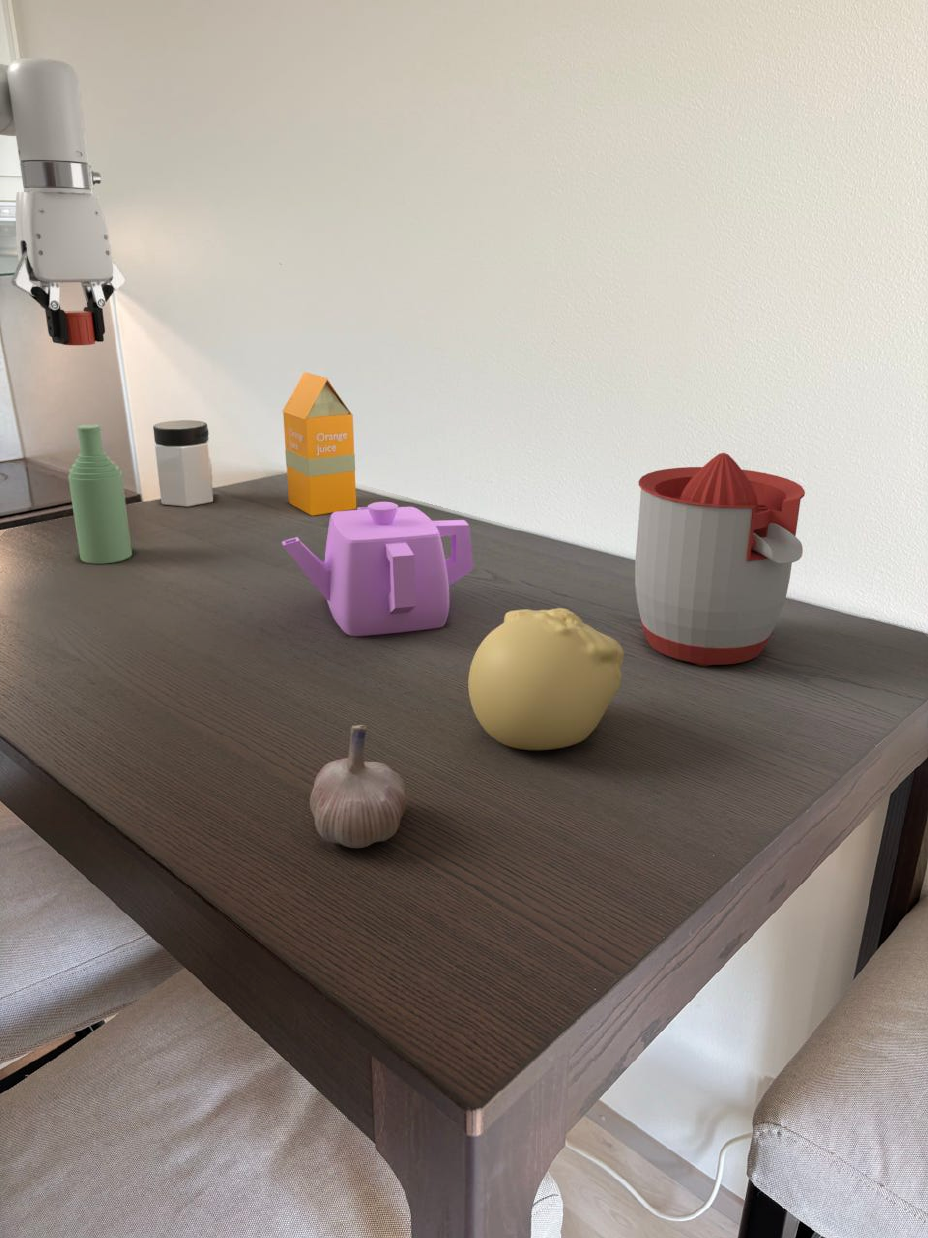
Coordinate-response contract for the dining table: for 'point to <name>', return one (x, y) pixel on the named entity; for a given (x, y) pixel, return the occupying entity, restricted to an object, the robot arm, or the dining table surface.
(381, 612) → the teakettle
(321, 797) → the garlic bulb
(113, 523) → the bottle
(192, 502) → the jar
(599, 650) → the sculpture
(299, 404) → the orange juice
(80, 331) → the cap
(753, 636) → the citrus juicer
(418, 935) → the dining table surface
